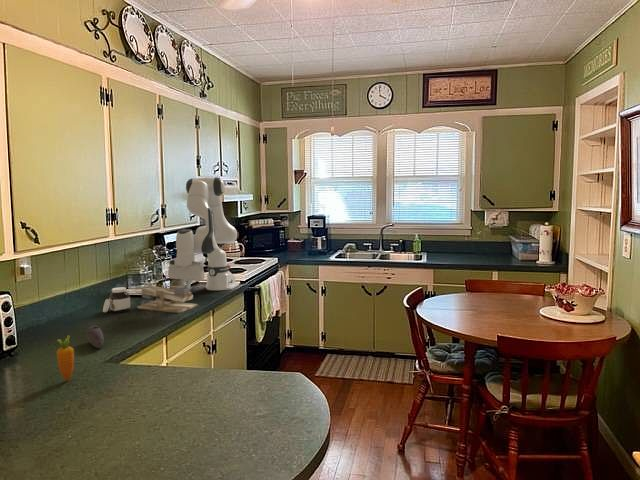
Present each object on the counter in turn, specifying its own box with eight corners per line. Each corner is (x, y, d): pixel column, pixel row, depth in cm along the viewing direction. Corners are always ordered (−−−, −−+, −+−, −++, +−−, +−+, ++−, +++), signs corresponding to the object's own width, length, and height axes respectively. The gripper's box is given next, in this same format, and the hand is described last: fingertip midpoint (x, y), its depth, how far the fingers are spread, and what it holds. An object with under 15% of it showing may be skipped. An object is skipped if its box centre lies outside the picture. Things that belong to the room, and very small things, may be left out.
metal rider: (179, 293, 250) (179, 285, 249) (188, 295, 248) (188, 287, 247) (174, 295, 246) (174, 286, 246) (183, 297, 244) (183, 288, 243)
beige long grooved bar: (152, 294, 260) (152, 282, 259) (192, 303, 250) (193, 291, 249) (141, 297, 253) (141, 285, 252) (182, 306, 243) (183, 294, 242)
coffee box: (169, 298, 272) (168, 270, 270) (178, 296, 277) (176, 268, 275) (181, 300, 267) (180, 271, 265) (190, 297, 273) (188, 269, 271)
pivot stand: (157, 301, 264) (156, 283, 263) (197, 305, 254) (196, 287, 252) (137, 308, 250) (136, 289, 249) (179, 313, 240) (178, 293, 239)
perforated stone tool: (107, 349, 188) (106, 332, 187) (92, 352, 185) (91, 334, 184) (100, 339, 200) (99, 323, 199) (86, 342, 197) (85, 325, 196)
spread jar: (133, 310, 246) (131, 288, 245) (113, 315, 237) (111, 292, 236) (118, 307, 253) (117, 285, 251) (98, 312, 243) (97, 289, 242)
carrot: (58, 385, 154) (55, 340, 152) (59, 379, 158) (55, 335, 156) (76, 382, 156) (72, 337, 154) (75, 376, 160) (72, 333, 159)
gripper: (206, 261, 243) (207, 288, 244) (174, 259, 251) (175, 285, 252) (198, 263, 237) (199, 290, 238) (165, 261, 245) (167, 287, 246)
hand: (186, 288), depth 245 cm, fingers closed
